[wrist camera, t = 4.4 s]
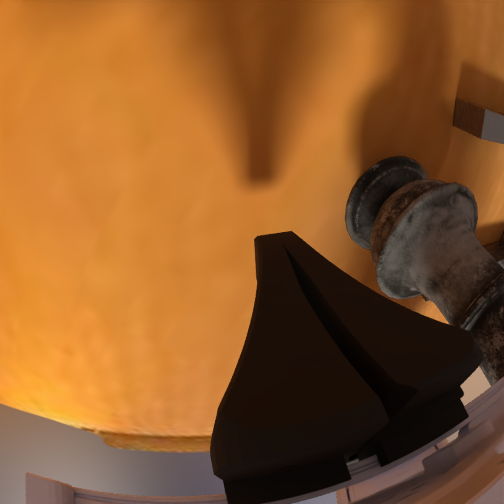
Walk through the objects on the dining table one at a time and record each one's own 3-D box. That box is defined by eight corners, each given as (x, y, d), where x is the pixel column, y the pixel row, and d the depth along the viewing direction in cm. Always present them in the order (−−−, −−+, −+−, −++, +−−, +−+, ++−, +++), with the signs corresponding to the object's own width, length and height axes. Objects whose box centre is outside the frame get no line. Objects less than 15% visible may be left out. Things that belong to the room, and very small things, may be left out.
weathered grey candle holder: (424, 132, 11) (630, 307, 1) (435, 222, 14) (561, 380, 5) (323, 183, 12) (515, 467, 2) (354, 270, 15) (462, 469, 6)
